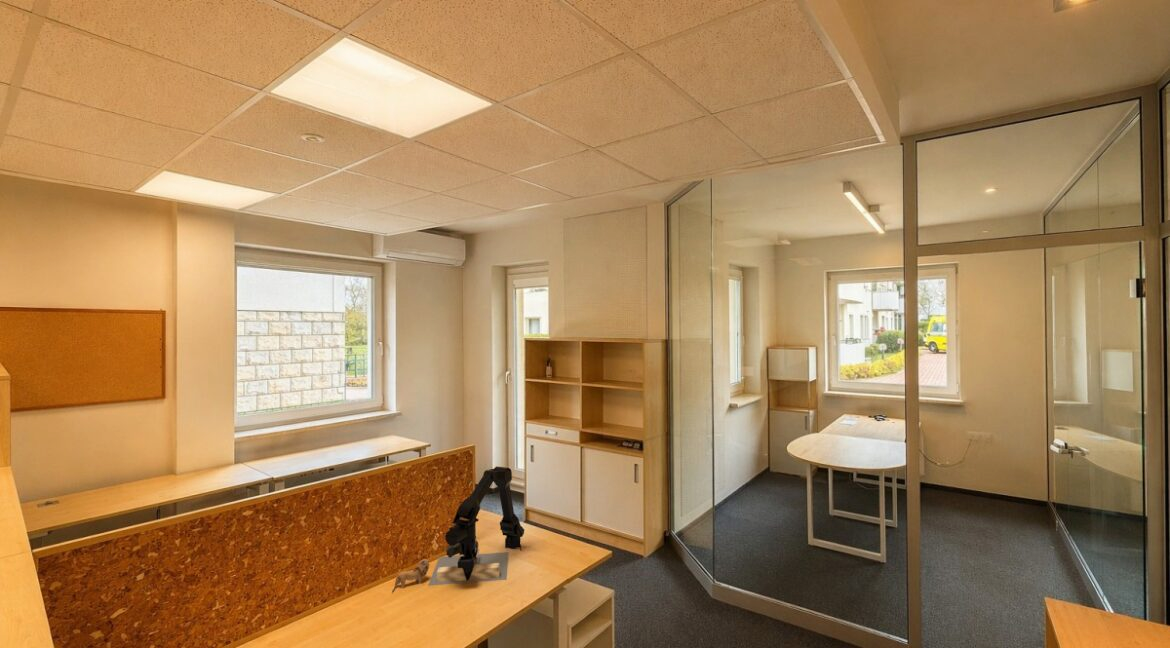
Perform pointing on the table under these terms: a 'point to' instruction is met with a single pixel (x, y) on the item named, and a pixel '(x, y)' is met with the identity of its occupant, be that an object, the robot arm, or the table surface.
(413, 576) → the lion figurine
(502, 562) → the base board
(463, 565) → the robot arm
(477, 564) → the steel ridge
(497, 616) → the table surface
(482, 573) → the beech batten
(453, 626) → the table surface
